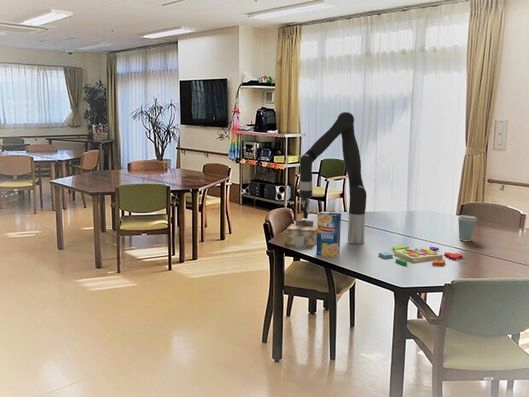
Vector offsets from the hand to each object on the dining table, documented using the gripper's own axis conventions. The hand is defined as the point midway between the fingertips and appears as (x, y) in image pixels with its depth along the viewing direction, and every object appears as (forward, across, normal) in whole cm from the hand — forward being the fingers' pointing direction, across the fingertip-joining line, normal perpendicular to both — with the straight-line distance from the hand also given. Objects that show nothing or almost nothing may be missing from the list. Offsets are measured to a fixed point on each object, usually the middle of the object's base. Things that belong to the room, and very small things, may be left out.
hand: (305, 218), depth 290 cm
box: (+13, -6, 0) cm, 14 cm away
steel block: (+13, -16, -1) cm, 21 cm away
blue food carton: (+13, -25, -18) cm, 34 cm away
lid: (+5, -6, 0) cm, 8 cm away
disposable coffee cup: (+15, +32, -91) cm, 97 cm away
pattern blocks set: (+14, -13, -64) cm, 67 cm away
